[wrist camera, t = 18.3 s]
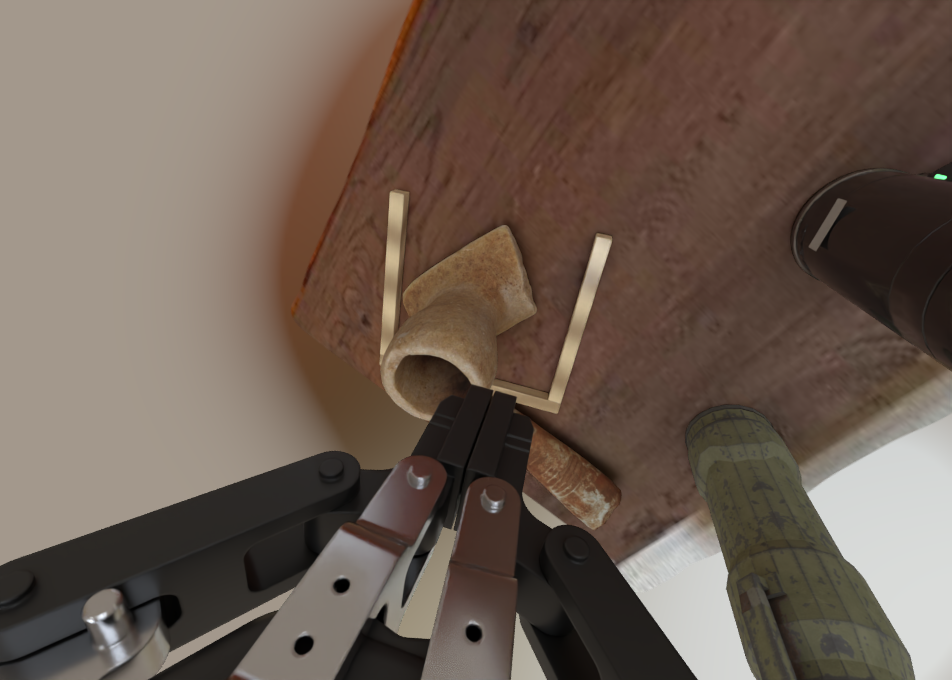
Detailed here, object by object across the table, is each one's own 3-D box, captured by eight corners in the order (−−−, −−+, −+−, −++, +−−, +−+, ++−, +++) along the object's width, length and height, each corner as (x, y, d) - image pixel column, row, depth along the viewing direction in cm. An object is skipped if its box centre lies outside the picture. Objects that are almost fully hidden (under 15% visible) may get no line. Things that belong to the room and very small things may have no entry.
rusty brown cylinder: (587, 502, 56) (586, 538, 51) (477, 409, 54) (466, 437, 49) (625, 480, 53) (628, 516, 48) (511, 380, 51) (502, 407, 46)
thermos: (744, 488, 49) (985, 1068, 19) (656, 436, 49) (756, 939, 19) (808, 439, 45) (1252, 1091, 15) (711, 382, 45) (957, 924, 14)
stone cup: (452, 369, 52) (404, 451, 39) (395, 286, 49) (323, 345, 36) (565, 317, 46) (554, 395, 33) (509, 217, 42) (472, 259, 29)
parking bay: (395, 189, 44) (389, 191, 43) (612, 236, 41) (612, 239, 40) (384, 358, 54) (379, 364, 52) (558, 406, 51) (557, 414, 49)
